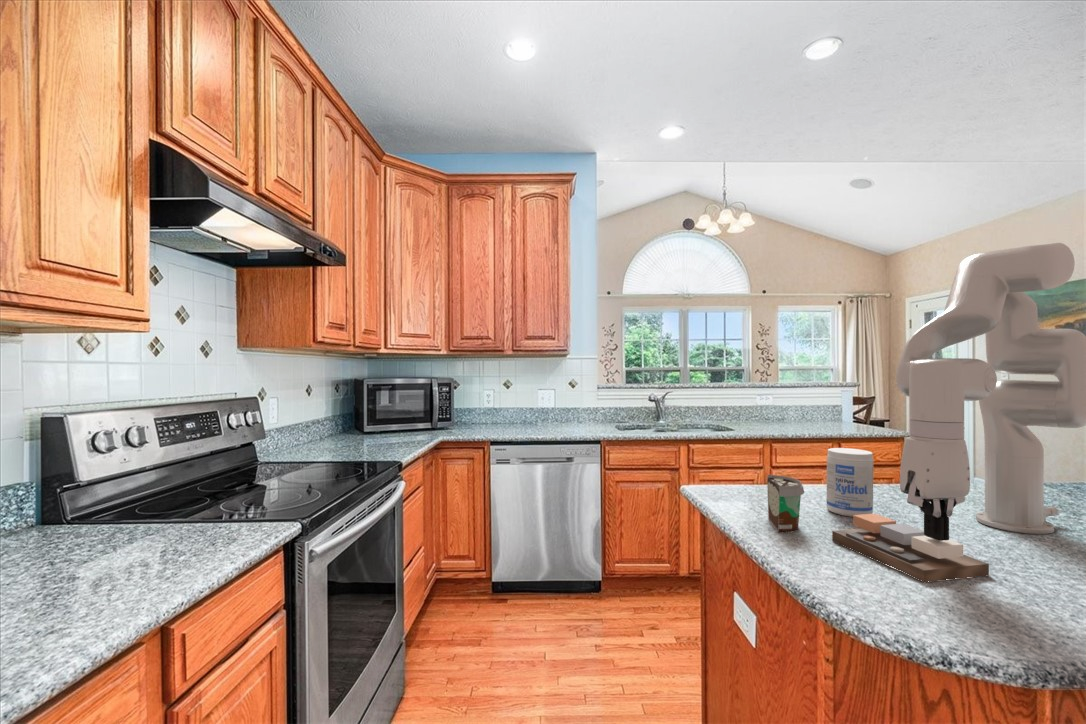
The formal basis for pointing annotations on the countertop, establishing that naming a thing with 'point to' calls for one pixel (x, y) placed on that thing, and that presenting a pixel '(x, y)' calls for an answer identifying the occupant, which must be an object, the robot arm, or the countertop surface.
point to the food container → (784, 502)
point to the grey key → (900, 533)
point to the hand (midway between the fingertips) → (936, 537)
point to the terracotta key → (871, 522)
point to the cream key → (937, 547)
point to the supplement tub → (849, 481)
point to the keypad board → (909, 557)
